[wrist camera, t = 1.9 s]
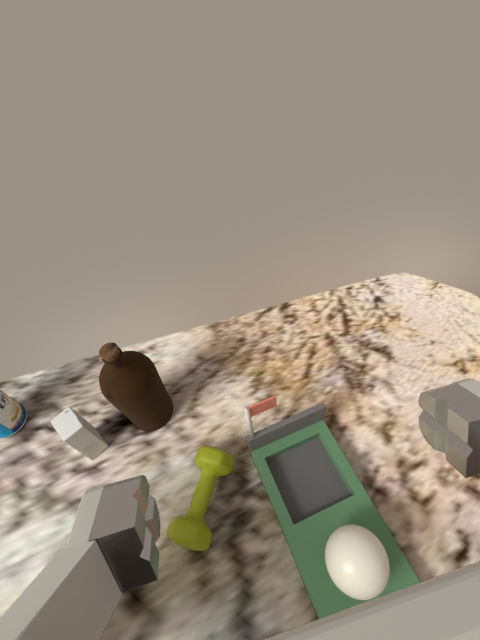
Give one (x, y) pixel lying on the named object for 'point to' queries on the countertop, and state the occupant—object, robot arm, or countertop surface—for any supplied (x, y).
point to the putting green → (317, 501)
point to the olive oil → (134, 387)
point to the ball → (357, 562)
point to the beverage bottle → (10, 416)
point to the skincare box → (79, 433)
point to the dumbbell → (201, 500)
